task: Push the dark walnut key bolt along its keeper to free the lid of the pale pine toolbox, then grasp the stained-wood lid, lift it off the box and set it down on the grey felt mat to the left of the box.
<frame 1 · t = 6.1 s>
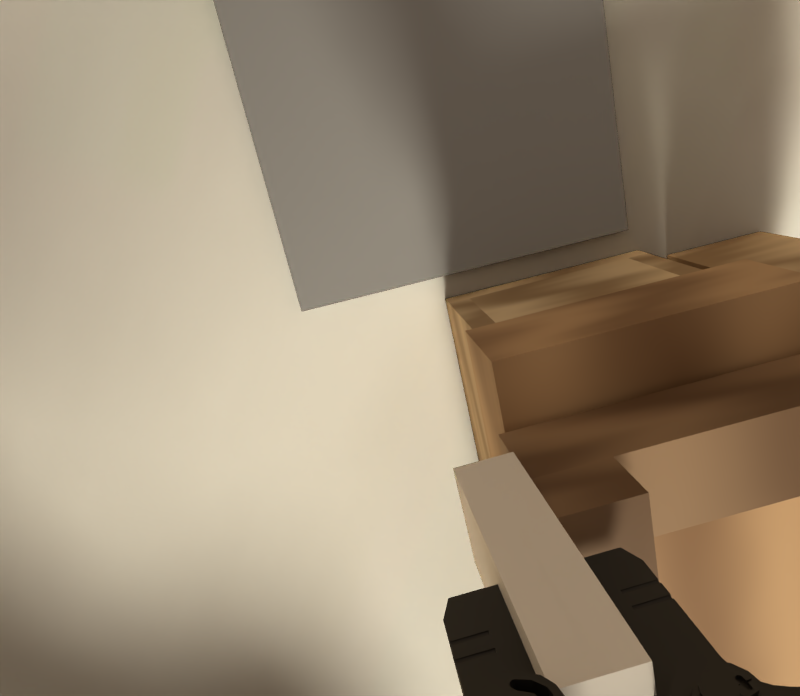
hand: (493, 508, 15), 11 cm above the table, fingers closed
toolbox: (569, 450, 28), on the table
lid: (635, 527, 22), point 6 cm above the table, touching toolbox
key: (770, 449, 15), point 12 cm above the table, slide at 1.2 cm, touching gripper
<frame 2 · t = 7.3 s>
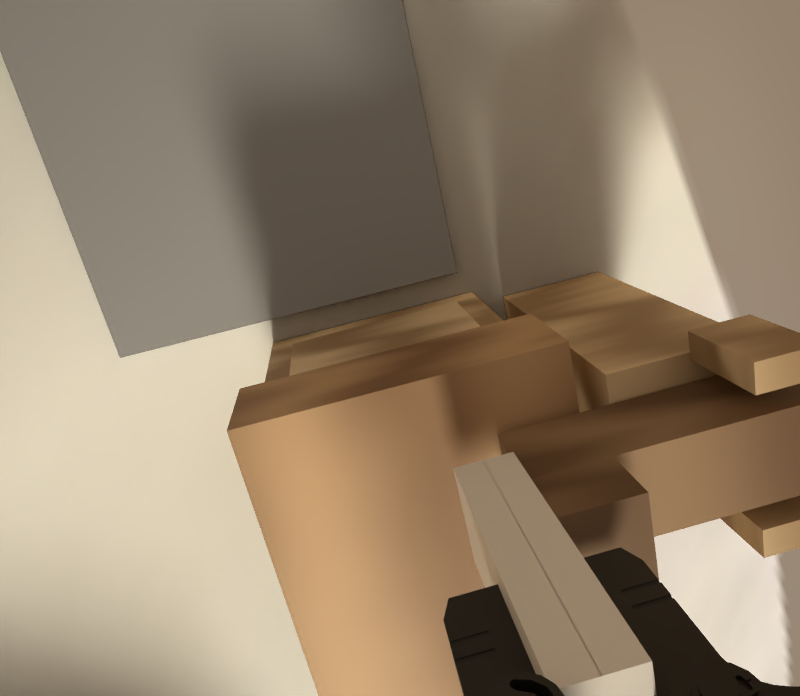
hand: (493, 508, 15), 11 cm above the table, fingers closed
toolbox: (416, 491, 27), on the table
mat: (209, 30, 21), on the table
lid: (444, 580, 22), point 6 cm above the table, touching toolbox
key: (770, 449, 15), point 11 cm above the table, slide at 8.1 cm, touching gripper
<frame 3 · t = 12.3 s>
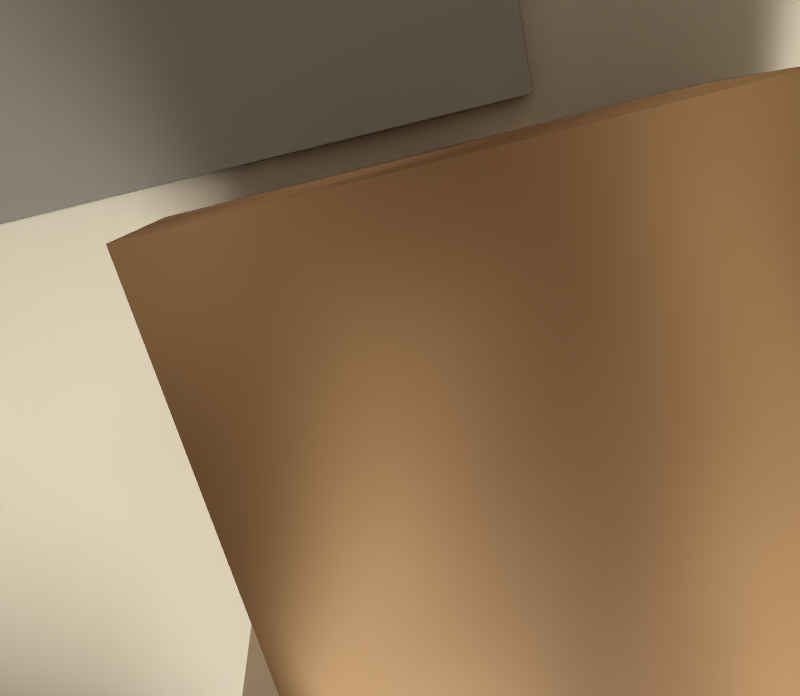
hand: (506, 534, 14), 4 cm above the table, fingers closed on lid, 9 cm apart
lid: (528, 577, 13), point 6 cm above the table, touching gripper, toolbox
when the fingers open (1 cm above the table, at t = 19.3 s): lid drops 2 cm, resting on mat.
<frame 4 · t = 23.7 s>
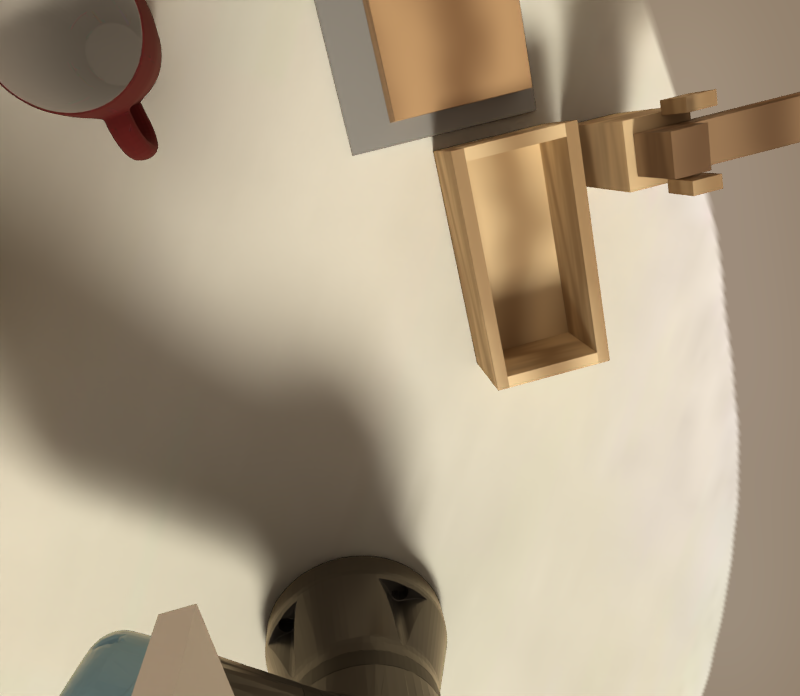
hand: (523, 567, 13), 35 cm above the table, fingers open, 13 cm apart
toolbox: (508, 249, 47), on the table
mug: (130, 74, 41), on the table
key: (757, 129, 35), point 12 cm above the table, slide at 11.7 cm
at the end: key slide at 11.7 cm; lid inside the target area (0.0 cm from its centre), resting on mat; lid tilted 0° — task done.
